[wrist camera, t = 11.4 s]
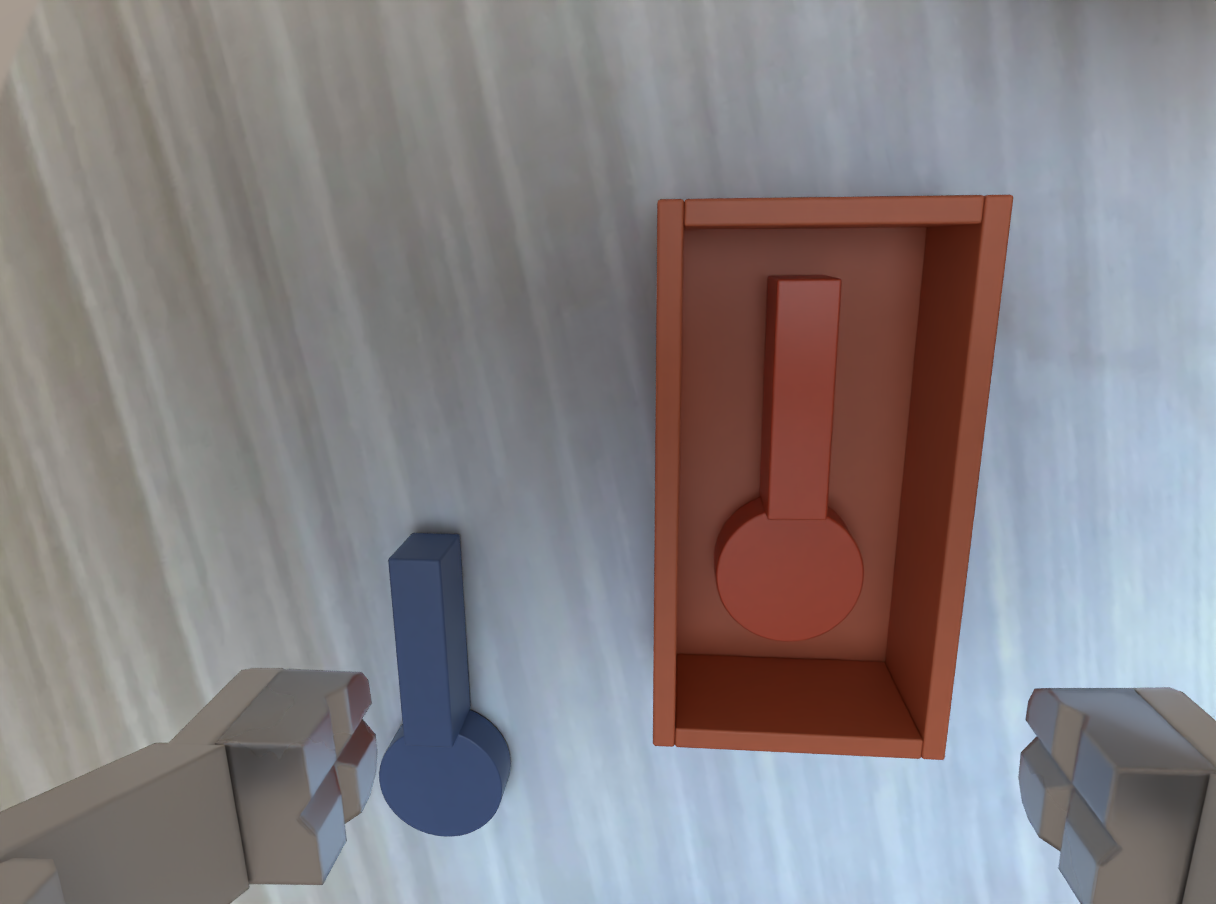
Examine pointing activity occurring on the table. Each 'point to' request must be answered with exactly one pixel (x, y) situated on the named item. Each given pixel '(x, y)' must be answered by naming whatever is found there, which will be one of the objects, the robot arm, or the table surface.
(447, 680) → the blue spoon
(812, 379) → the red spoon
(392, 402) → the table surface
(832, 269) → the red bin
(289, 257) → the table surface
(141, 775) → the robot arm
